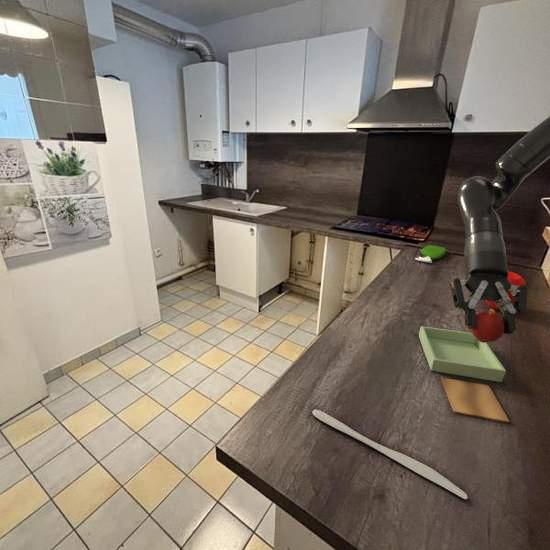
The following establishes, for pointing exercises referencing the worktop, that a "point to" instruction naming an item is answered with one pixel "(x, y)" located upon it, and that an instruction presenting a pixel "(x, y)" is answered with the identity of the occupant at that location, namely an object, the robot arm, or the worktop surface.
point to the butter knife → (393, 455)
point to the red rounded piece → (488, 326)
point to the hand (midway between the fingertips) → (490, 330)
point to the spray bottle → (431, 253)
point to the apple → (514, 280)
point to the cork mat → (473, 400)
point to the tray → (460, 354)
